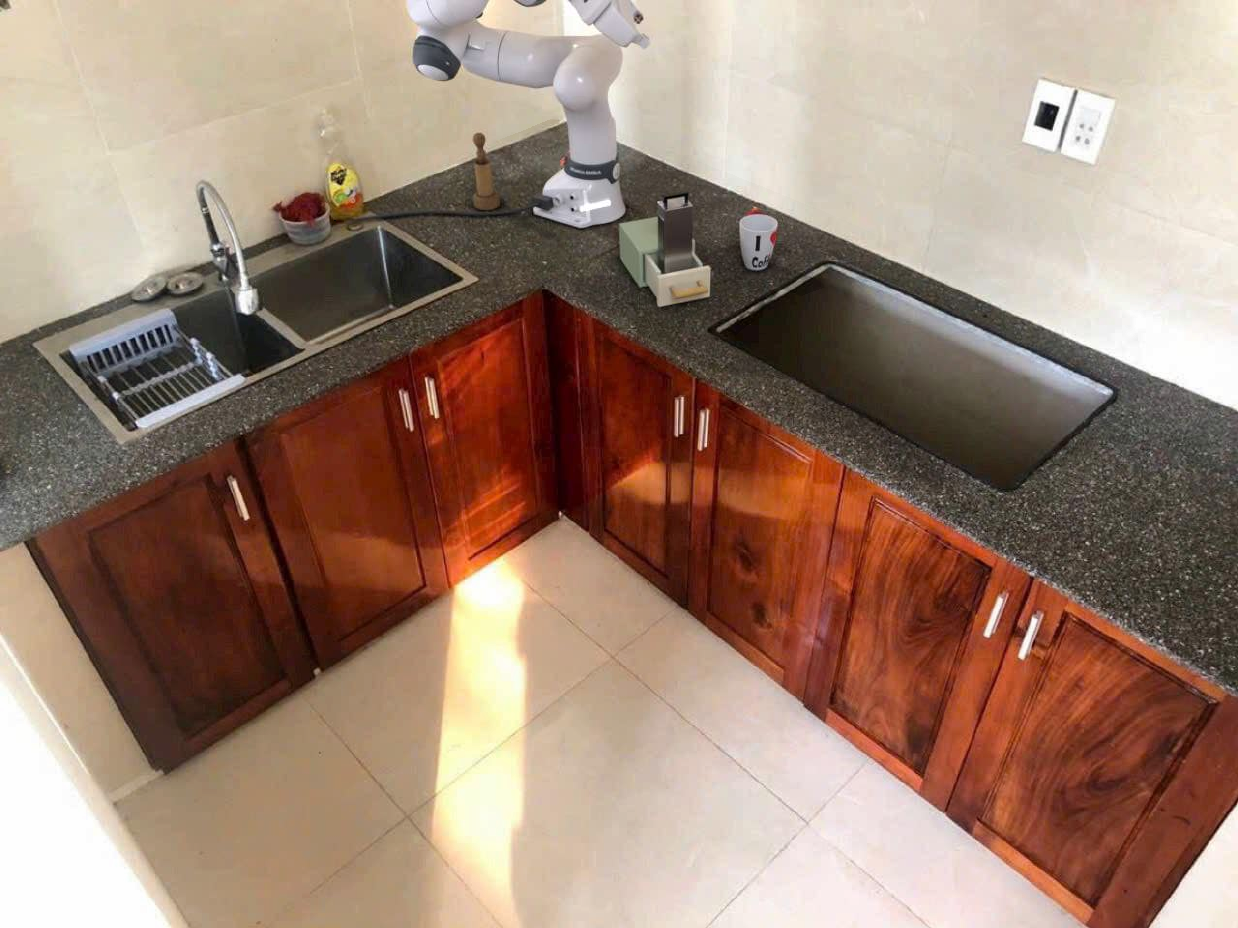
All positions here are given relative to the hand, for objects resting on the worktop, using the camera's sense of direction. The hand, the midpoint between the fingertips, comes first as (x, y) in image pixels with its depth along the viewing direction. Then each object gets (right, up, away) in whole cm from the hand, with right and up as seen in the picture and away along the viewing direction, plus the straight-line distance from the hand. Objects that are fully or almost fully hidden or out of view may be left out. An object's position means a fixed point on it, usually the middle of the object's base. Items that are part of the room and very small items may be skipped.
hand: (644, 32), depth 191 cm
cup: (+25, -39, +30) cm, 55 cm away
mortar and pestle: (-37, -19, +56) cm, 70 cm away
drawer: (+8, -46, +20) cm, 51 cm away
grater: (+7, -45, +20) cm, 50 cm away
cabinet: (+4, -39, +30) cm, 49 cm away
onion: (+26, -31, +39) cm, 56 cm away
